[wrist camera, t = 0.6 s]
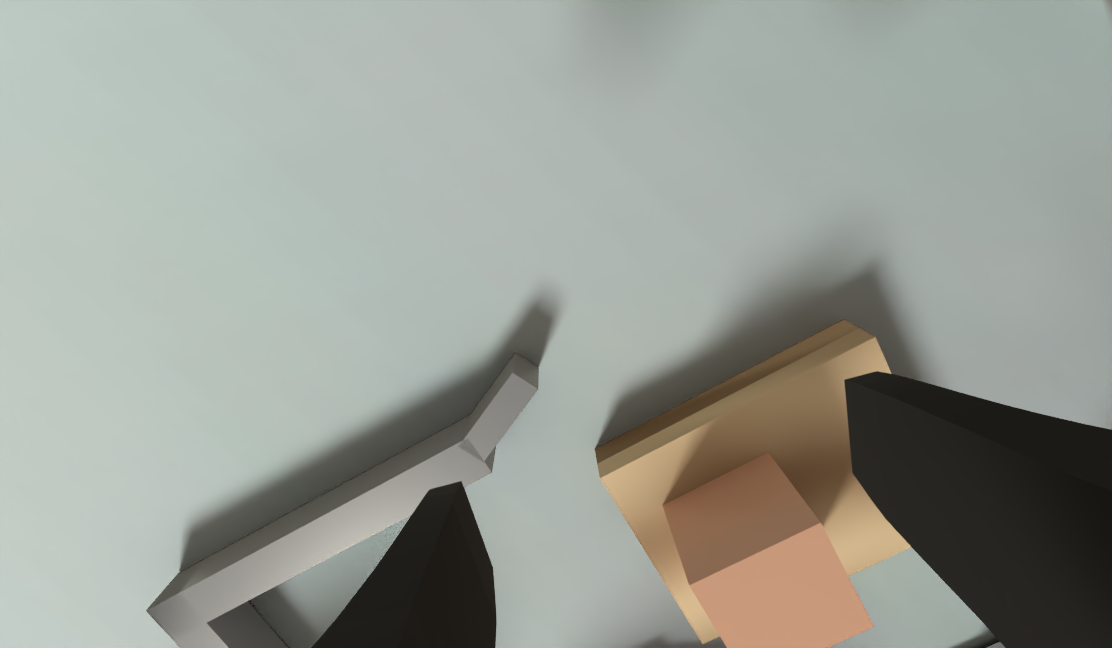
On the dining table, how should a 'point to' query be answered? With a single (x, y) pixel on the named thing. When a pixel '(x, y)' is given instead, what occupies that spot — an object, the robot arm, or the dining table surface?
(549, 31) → the dining table surface
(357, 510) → the dock
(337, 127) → the dining table surface
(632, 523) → the pallet
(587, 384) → the dining table surface
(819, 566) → the salmon pink cube
